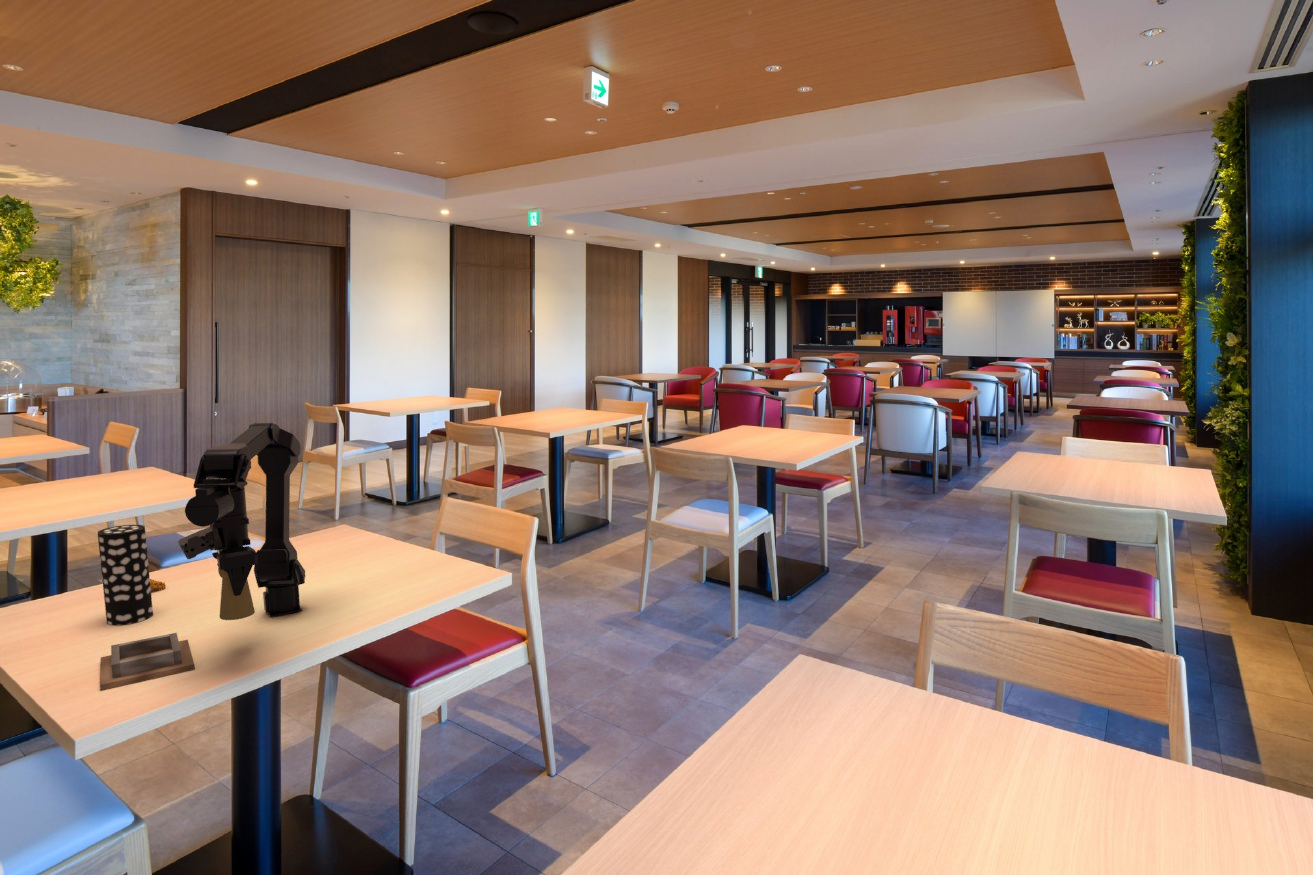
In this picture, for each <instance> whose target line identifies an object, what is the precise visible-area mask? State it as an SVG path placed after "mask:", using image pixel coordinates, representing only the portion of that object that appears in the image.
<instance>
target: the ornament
mask: <svg viewBox="0 0 1313 875" xmlns="http://www.w3.org/2000/svg"><path fill="white" fill-rule="evenodd" d="M150 587H151V591H152V590H155V591H158V590H160V589H162V590H164V588H165V589H166V587H167V585H166V583H165V582H162V581H159V580H155V579H152V578H150Z"/></svg>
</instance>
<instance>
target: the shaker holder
mask: <svg viewBox="0 0 1313 875" xmlns="http://www.w3.org/2000/svg"><path fill="white" fill-rule="evenodd" d="M110 647H111V648H110V652H111V653H110V655H105V656H104V655H103V656H101V657H100V665H99V666H100V668H99V670H100V671H99V675H100V676H99V687H100V688H99V689H100V691H103V690H104V691H105V690H108V688H109V689H113V688H114V689H115V688H117V687H121V686H126V685H130V684H135V683H140V682H144V681H148V680H153V679H157V678H161V677H166V676H170V675H175V674H179V673H180V674H181V673H183V672H188V671H193V670H195V667H196V666H195V663H194V658H193V654H192V651H191V647H190V643H189V640H188V639H183V640H179V637H178V632H172V633H168V634H163V635H158V636H153V637H152V636H151V637H147V638H141V639H138V640H137V639H136V640H132V641H127V642H123V643H117V644H112V645H111V646H110Z"/></svg>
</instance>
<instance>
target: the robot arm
mask: <svg viewBox="0 0 1313 875" xmlns="http://www.w3.org/2000/svg"><path fill="white" fill-rule="evenodd" d="M300 443H301V442H300V441H299V440H298V439H297V437H296V436H295V435H294V434H293V433H291V432H289V431H287V430H285V429H283V428H280V426H279V425H278V424H277V423H274V422H255V423H251V424H249V426H248V428H247V429H245V431H244V432H241V434H240V435H239V436H237V437H236V438H234V439H233V440H232V441H231V442H229V443H227V444H222V445H216V446H213V447H211V448H207V449H206V450H205V451H204V452H203V454H202V455H201V457H200V459H199V464H198V467H197V471H196V475H195V480H194V483H193V488H194V489H195V490H194V491H195V492H194V493H195V495H194V496H192V497H191V498H189V499H188V501H187V503H186V505H185V507H184V514H185V516H186V519H187V520H188V521H189V522H190V523H191V524H192V525H194V526H197V527H203V529H200V530H198V531H196V532H193V533H192V534H188V535H186V536H184V537H182V538H180V539H179V540H178V546H179V547H180V549H181V550H182V552H183V554H184V556H185V558H186V559H187V560H192V559H193V558H196V557H197V556H198V555H200V554H202V553H205V552H206V551H209V550H210V551H215V552H212V553H211V555H212V557H213V558H214V559H215V560H217V562H216V563H217V564H216V565H217V567H219V569H220V570H224V571H226V572H227V574H228V577H229V581H230V584H231V587H232V590H233V594H234V596H238V595H241V593H242V590H243V588H244V585H245V583H246V580H248V578H249V575H250V573H251V570H252V568H253V573H254V578H255V581H256V584H257V588H258V589H261V588H265V591H263V592H262V596H263V597H262V598H263V599H262V600H263V610H264V612H265V613H267V614H268V617H271V618H273V617H277V616H284V615H287V614H288V615H290V614H294V613H298V612H302V611H303V609H302V607H301V602H300V590H299V589H300V588H299V586H300V585H304V584H305V583H306V580H305V579H306V569H305V568H304V567H303V565H302V564H301V563H300V561H299V559H298V552H297V549H296V548H295V547H294V545H293V543H292V542H291V540H290V506H291V505H290V495H291V494H290V493H291V490H290V487H291V484H290V483H291V481H290V480H291V474H292V473H293V471H294V470H295V468H296V467H297V466H298V464H299V456H300V454H301V448H302V447H301V444H300ZM256 456H257V465H258V466H259V467H260V469H261V471H262V472H263V473H264V475H265V525H264V526H265V529H264V533H265V534H264V535H265V536H264V543H263V544H262V545H261V547H260V549H258V550H256V549H254V548H252V547H251V538H250V537H249V528H248V525H249V524H250V520H249V518H248V513H247V503H246V502H247V501H246V490H245V489H246V488H245V487H246V486H247V485H248V481H247V477H248V475H249V472H250V470H251V469H252V461H251V460H252V459H254V457H256ZM204 527H206V528H204Z"/></svg>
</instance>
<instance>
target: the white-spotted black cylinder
mask: <svg viewBox="0 0 1313 875" xmlns="http://www.w3.org/2000/svg"><path fill="white" fill-rule="evenodd" d="M146 536H147V534H146V526H145V525H142V524H122V525H115V526H110V527H105V528H102V529H100V530H98V531H97V540H98V550H99V562H100V570H101V578H102V579H101V581H102V590H103V599H104V608H105V618H106V623H107V624H108V625H110V626H126V625H132V624H136V623H139V622H140V623H141V622H143V621H146V620H148V619H150V618H151V617H153V616H154V611H153V610H154V609H153V600H152V599H153V598H152V590H151V587H150V579H151V577H150V569H149V568H150V567H149V566H150V565H149V558H148V546H147V537H146Z"/></svg>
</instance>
